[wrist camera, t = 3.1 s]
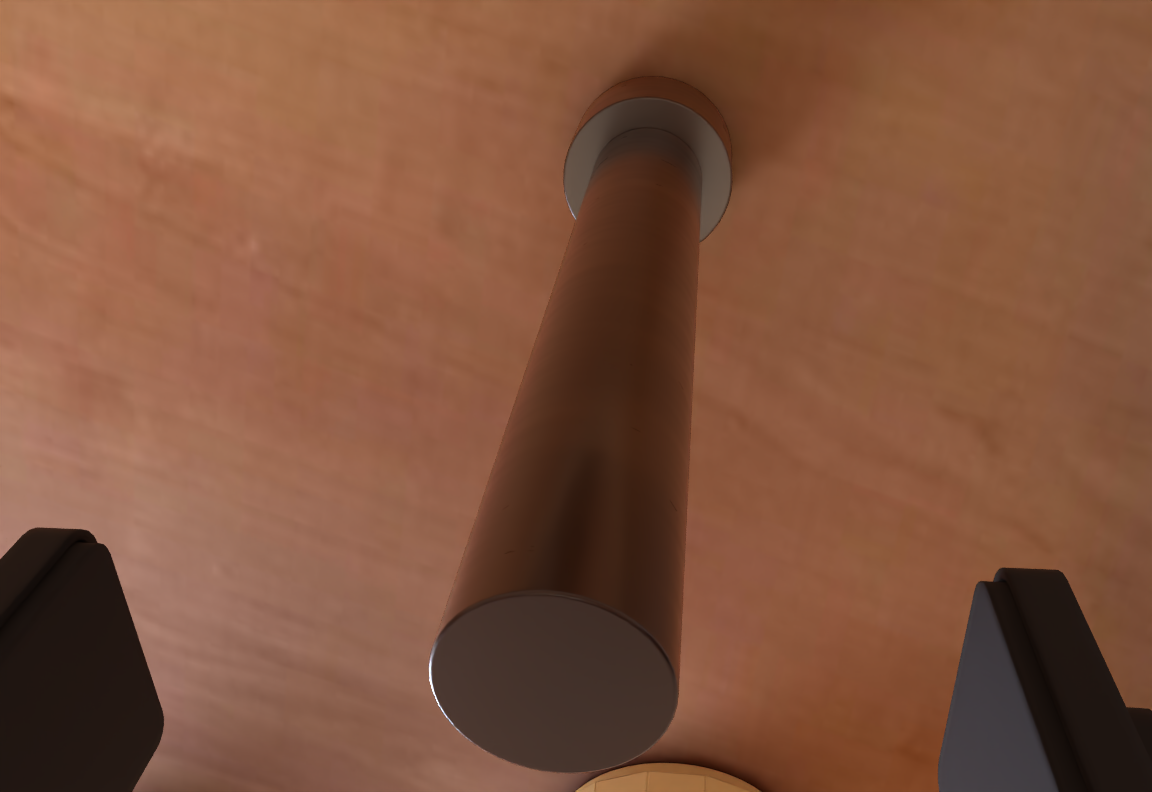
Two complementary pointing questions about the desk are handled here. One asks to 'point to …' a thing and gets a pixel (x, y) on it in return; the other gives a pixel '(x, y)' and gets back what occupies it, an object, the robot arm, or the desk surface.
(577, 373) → the stirrer
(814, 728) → the desk surface
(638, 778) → the bowl
